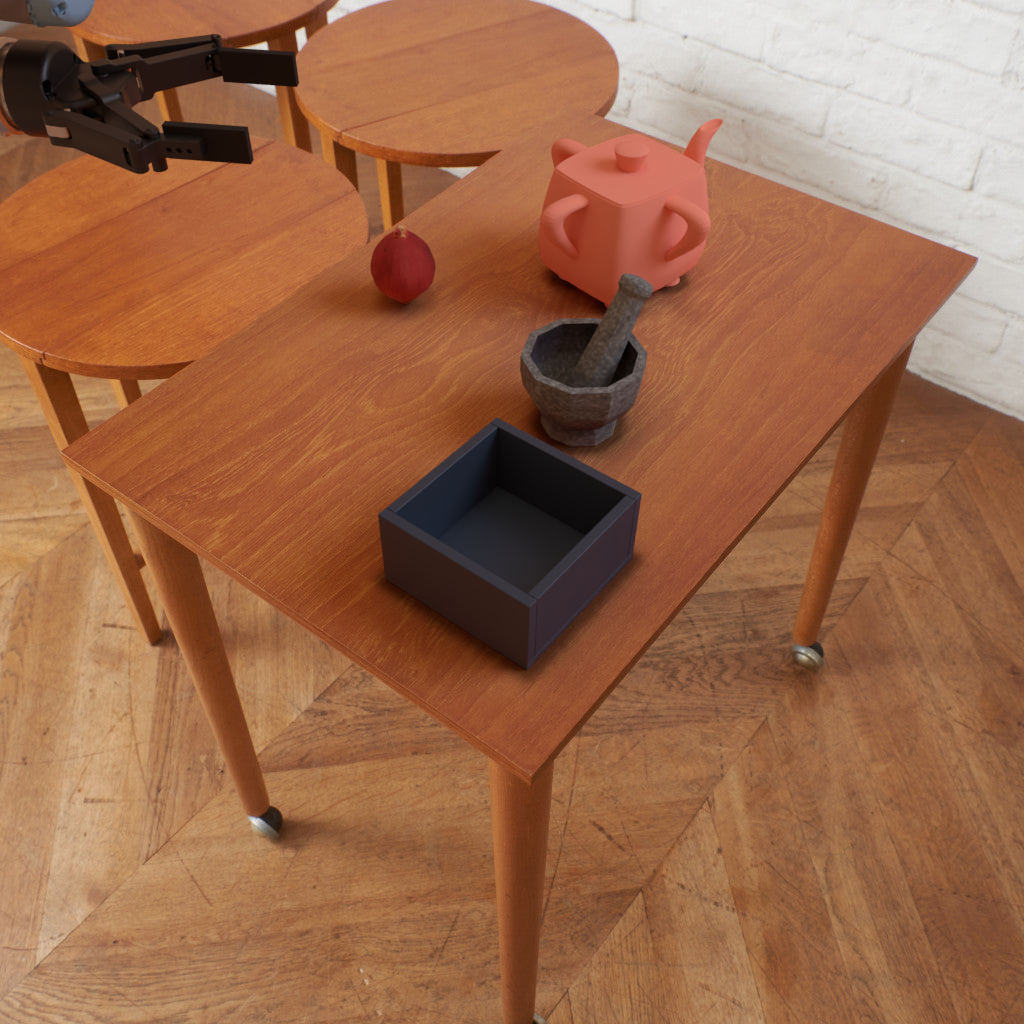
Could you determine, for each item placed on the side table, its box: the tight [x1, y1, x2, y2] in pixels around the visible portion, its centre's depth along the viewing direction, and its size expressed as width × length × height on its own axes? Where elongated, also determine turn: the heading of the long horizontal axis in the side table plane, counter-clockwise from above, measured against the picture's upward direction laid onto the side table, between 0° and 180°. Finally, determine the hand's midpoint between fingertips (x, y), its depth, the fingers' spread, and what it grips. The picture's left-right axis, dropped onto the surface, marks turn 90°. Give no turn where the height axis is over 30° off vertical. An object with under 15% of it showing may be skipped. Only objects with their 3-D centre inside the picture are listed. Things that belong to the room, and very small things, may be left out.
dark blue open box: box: [377, 416, 643, 671], centre depth 72 cm, size 13×13×7 cm
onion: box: [369, 225, 437, 305], centre depth 94 cm, size 6×6×8 cm
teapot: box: [537, 118, 724, 309], centre depth 96 cm, size 17×16×13 cm
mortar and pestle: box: [519, 273, 653, 448], centre depth 82 cm, size 11×9×12 cm
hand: (274, 105), depth 85 cm, fingers open, 13 cm apart
